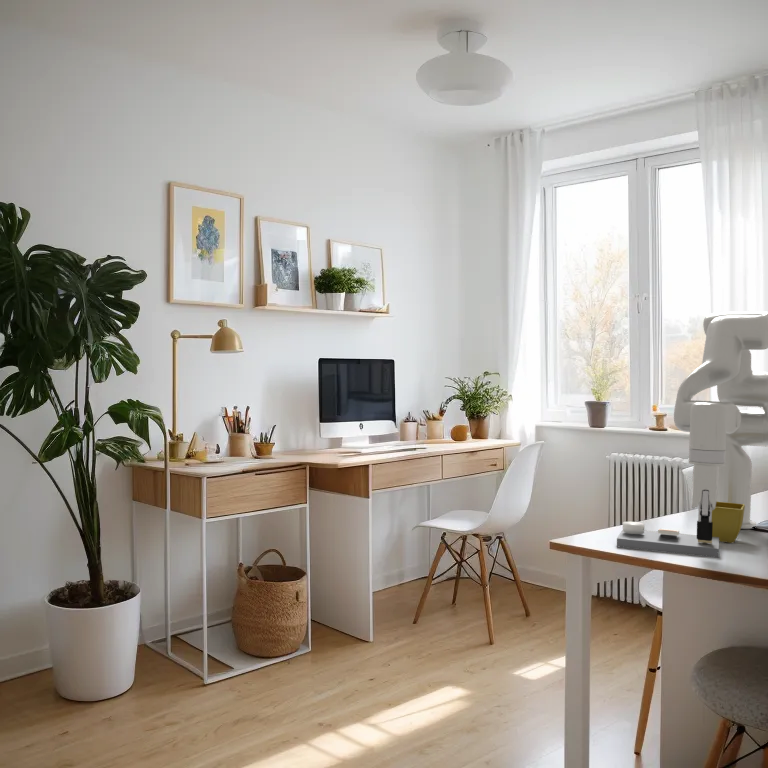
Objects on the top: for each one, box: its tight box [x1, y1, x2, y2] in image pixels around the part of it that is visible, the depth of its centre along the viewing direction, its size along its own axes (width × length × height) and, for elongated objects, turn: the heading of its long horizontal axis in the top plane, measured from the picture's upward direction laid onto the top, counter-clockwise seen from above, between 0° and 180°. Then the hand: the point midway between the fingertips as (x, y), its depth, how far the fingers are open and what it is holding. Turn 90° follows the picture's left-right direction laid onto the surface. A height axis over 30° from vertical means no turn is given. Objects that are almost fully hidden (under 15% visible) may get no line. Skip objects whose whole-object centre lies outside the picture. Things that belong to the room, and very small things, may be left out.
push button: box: [622, 521, 646, 534], centre depth 186 cm, size 5×5×2 cm
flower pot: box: [712, 501, 745, 544], centre depth 191 cm, size 9×9×9 cm
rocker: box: [657, 528, 680, 535], centre depth 183 cm, size 6×4×1 cm
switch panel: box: [616, 529, 720, 559], centre depth 183 cm, size 14×22×3 cm, turn 66°
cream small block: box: [698, 540, 712, 543], centre depth 178 cm, size 2×3×3 cm, turn 66°
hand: (704, 539), depth 172 cm, fingers closed
